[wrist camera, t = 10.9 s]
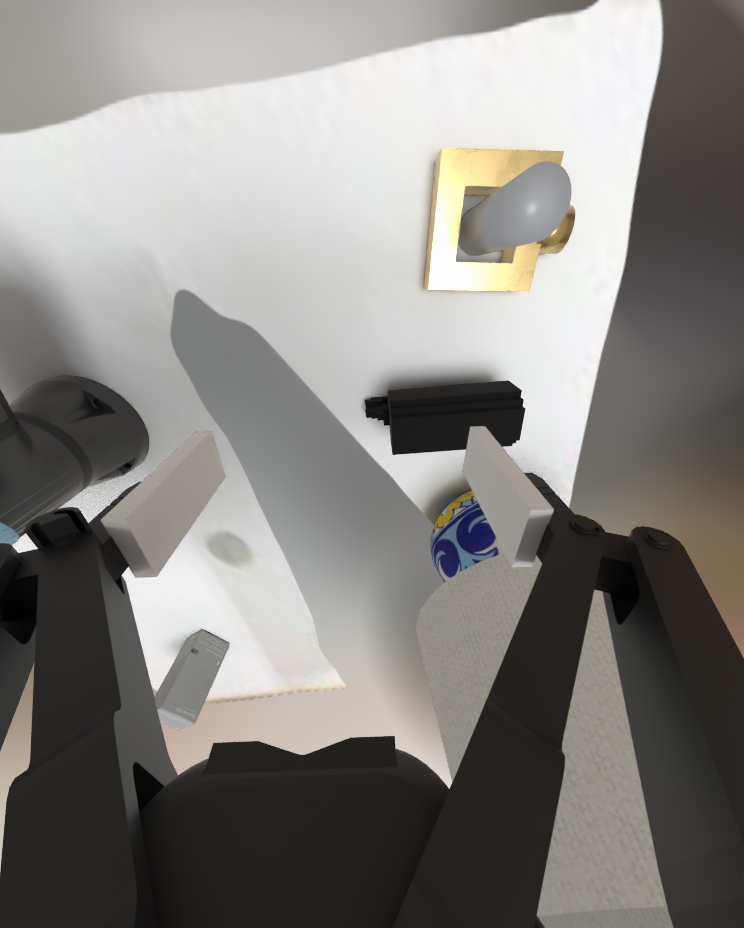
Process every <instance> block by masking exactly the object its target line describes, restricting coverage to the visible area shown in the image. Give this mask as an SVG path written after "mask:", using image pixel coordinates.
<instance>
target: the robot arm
mask: <svg viewBox="0 0 744 928" xmlns="http://www.w3.org/2000/svg"><path fill="white" fill-rule="evenodd" d="M148 447H149V440H148V435H147V431H146V428H145V426H144V424H143V422H142V420H141V419H140V417H139V416H138V414H137V413H136V412H135V410H134V409H133V408H132V407H131V406H130V405H129V404H128V403H127V402H126V401H125V400H124V399H123V398H122V397H120V396H119V395H118V394H116V393H115V392H113V391H112V390H110V389H109V388H107V387H105V386H103V385H101V384H99V383H97V382H94V381H91V380H88V379H85V378H81V377H75V376H60V377H55V378H51V379H48V380H45V381H42V382H39V383H37V384H35V385H33V386H31V387H30V388H28V389H27V390H26V391H25V392H24V393H23V394H22V395H21V396H19V397H18V398H17V399H16V400H15V401H14V402H13V403H12V404H11V405H9V404H8V402H7V401H6V399H5V397H4V395H3V393H2V392H1V390H0V750H1V748H2V745H3V742H4V739H5V737H6V734H7V732H8V729H9V727H10V724H11V721H12V719H13V716H14V713H15V711H16V708H17V706H18V703H19V701H20V698H21V695H22V692H23V690H24V687H25V685H26V682H27V680H28V677H29V674H30V672H31V669H32V666H33V664H34V661H35V664H34V688H33V711H32V732H31V756H30V764H29V768H28V769H27V771H25V772H24V773H22V774H21V775H19V776H17V777H16V778H15V779H14V781H13V782H12V784H11V786H10V788H9V792H8V797H7V802H6V814H5V825H4V838H3V849H2V861H1V872H0V928H545V927H544V925H543V924H542V922H541V921H540V919H539V918H538V917H537V911H538V905H539V900H540V895H541V890H542V885H543V880H544V874H545V869H546V864H547V859H548V854H549V849H550V843H551V838H552V833H553V828H554V823H555V818H556V812H557V807H558V802H559V797H560V792H561V787H562V781H563V776H564V769H565V755H564V753H563V751H562V743H563V737H564V732H565V728H566V723H567V718H568V713H569V708H570V704H571V699H572V694H573V689H574V685H575V680H576V675H577V670H578V666H579V661H580V656H581V651H582V647H583V642H584V637H585V632H586V627H587V623H588V618H589V613H590V608H591V604H592V599H593V594H594V590H598V591H602V592H603V597H604V602H605V607H606V612H607V617H608V622H609V627H610V632H611V637H612V642H613V647H614V652H615V657H616V662H617V667H618V672H619V677H620V682H621V687H622V692H623V697H624V702H625V707H626V711H627V716H628V721H629V726H630V731H631V736H632V741H633V746H634V751H635V756H636V761H637V766H638V771H639V776H640V781H641V786H642V791H643V796H644V801H645V806H646V811H647V816H648V821H649V826H650V831H651V836H652V841H653V846H654V851H655V856H656V861H657V866H658V870H659V875H660V879H661V883H662V887H663V891H664V895H665V899H666V903H667V907H668V912H669V915H670V918H671V921H672V925H673V928H744V658H743V656H742V655H741V652H740V651H739V649H738V647H737V645H736V643H735V641H734V639H733V638H732V636H731V634H730V632H729V630H728V628H727V626H726V624H725V623H724V621H723V619H722V617H721V615H720V613H719V611H718V610H717V608H716V606H715V604H714V602H713V600H712V598H711V597H710V595H709V593H708V591H707V589H706V587H705V586H704V584H703V582H702V580H701V578H700V576H699V574H698V573H697V571H696V569H695V567H694V565H693V563H692V561H691V559H690V558H689V556H688V554H687V552H686V550H685V548H684V547H683V545H682V544H681V543H680V542H679V541H678V540H677V539H675V538H674V537H672V536H671V535H669V534H668V533H665V532H664V531H661V530H658V529H654V528H650V527H644V526H642V527H636V528H634V529H633V530H632V532H631V533H630V535H629V537H628V536H623V535H618V534H612V533H607V532H605V530H604V529H603V528H602V527H601V525H599V524H598V523H597V522H595V521H594V520H591V519H589V518H587V517H585V516H581V515H575V514H574V513H573V512H572V511H571V510H570V509H569V508H568V507H567V505H566V504H565V503H564V502H563V501H562V500H561V499H560V498H559V497H558V495H555V492H554V491H553V490H552V489H550V487H549V486H548V484H547V483H546V482H545V481H544V480H543V479H542V478H540V477H538V476H537V475H535V474H533V473H523V472H522V470H521V469H520V468H519V467H518V466H517V464H516V463H515V462H514V461H513V459H512V458H511V457H510V456H509V455H508V453H507V452H506V451H505V450H504V449H503V447H502V446H501V445H500V444H499V443H498V441H497V440H496V439H495V438H494V437H493V435H492V434H491V433H490V432H489V431H488V429H487V428H486V427H485V426H478V427H470V431H469V436H468V442H467V448H466V454H465V459H464V465H463V471H462V472H463V474H464V476H465V478H466V480H467V482H468V484H469V486H470V488H471V490H472V491H473V493H474V495H475V497H476V499H477V501H478V503H479V505H480V507H481V509H482V511H483V513H484V515H485V517H486V518H487V520H488V522H489V524H490V526H491V528H492V530H493V532H494V534H495V536H496V538H497V540H498V542H499V544H500V545H501V547H502V549H503V551H504V553H505V555H506V557H507V559H508V561H509V563H510V565H511V567H532V566H533V563H534V560H535V558H536V555H537V557H538V558H539V560H540V561H541V563H542V566H541V568H540V570H539V573H538V575H537V578H536V580H535V583H534V585H533V588H532V590H531V592H530V595H529V597H528V600H527V602H526V605H525V607H524V609H523V612H522V614H521V617H520V619H519V622H518V624H517V627H516V629H515V631H514V634H513V636H512V639H511V641H510V644H509V646H508V648H507V651H506V653H505V656H504V658H503V661H502V663H501V666H500V668H499V670H498V673H497V675H496V678H495V680H494V683H493V685H492V687H491V690H490V692H489V695H488V697H487V700H486V702H485V704H484V707H483V709H482V712H481V714H480V717H479V719H478V721H477V724H476V726H475V729H474V731H473V734H472V736H471V738H470V741H469V743H468V746H467V748H466V751H465V753H464V756H463V758H462V760H461V763H460V765H459V768H458V770H457V773H456V775H455V777H454V780H453V782H452V785H451V787H450V789H449V788H448V787H447V785H446V784H445V783H444V782H443V781H442V780H441V779H440V777H439V776H438V775H437V774H436V773H435V772H434V771H432V769H430V768H429V767H428V766H427V765H426V764H425V763H423V762H422V761H420V760H419V759H417V758H416V757H414V756H412V755H410V754H408V753H406V752H404V751H401V750H398V749H395V737H394V736H384V737H357V738H349V739H346V740H343V741H341V742H338V743H335V744H333V745H330V746H328V747H325V748H322V749H320V750H317V751H314V752H312V753H309V754H306V755H299V754H295V753H292V752H289V751H286V750H283V749H280V748H277V747H274V746H271V745H268V744H265V743H262V742H259V741H253V742H227V743H213V746H212V749H211V753H210V756H209V759H206V760H204V761H202V762H200V763H198V764H196V765H194V766H192V767H190V768H189V769H187V770H186V771H184V772H183V773H181V774H180V775H177V773H176V771H175V768H174V767H173V764H172V762H171V760H170V758H169V755H168V752H167V748H166V744H165V740H164V736H163V732H162V727H161V723H160V719H159V715H158V711H157V707H156V703H155V699H154V695H153V691H152V687H151V683H150V679H149V675H148V671H147V667H146V663H145V658H144V654H143V650H142V646H141V642H140V638H139V634H138V630H137V626H136V622H135V618H134V614H133V610H132V606H131V602H130V598H129V594H128V590H127V586H126V582H125V580H124V579H123V577H122V574H123V573H124V571H125V570H126V569H127V568H128V566H129V568H130V570H131V571H132V573H133V575H134V576H135V578H137V577H157V576H158V574H159V573H160V571H161V570H162V568H163V567H164V565H165V564H166V563H167V561H168V560H169V558H170V557H171V555H172V554H173V552H174V551H175V549H176V548H177V547H178V545H179V544H180V542H181V541H182V539H183V538H184V536H185V535H186V533H187V532H188V531H189V529H190V528H191V526H192V525H193V523H194V522H195V520H196V519H197V517H198V516H199V515H200V513H201V512H202V510H203V509H204V507H205V506H206V504H207V503H208V501H209V500H210V499H211V497H212V496H213V494H214V493H215V491H216V490H217V488H218V487H219V486H220V484H221V483H222V481H223V480H224V478H225V473H224V470H223V467H222V464H221V460H220V457H219V454H218V450H217V447H216V444H215V440H214V437H213V434H212V431H196V432H195V433H194V434H193V435H192V436H191V437H190V438H189V439H188V440H186V441H185V442H184V443H183V444H182V445H181V446H180V447H179V448H178V449H177V450H176V451H175V452H174V453H172V454H171V455H170V456H169V457H168V458H167V459H166V460H165V461H164V462H163V463H162V464H161V465H159V466H158V467H157V468H156V469H155V470H154V471H153V472H152V473H151V474H150V475H149V476H148V477H146V478H145V479H144V480H143V481H142V482H138V483H137V484H135V485H133V486H131V487H129V488H128V489H126V490H125V491H124V492H123V493H122V494H121V495H120V496H118V499H115V500H114V501H113V502H112V503H111V504H110V506H107V507H106V508H105V509H104V510H103V511H102V512H101V513H99V514H98V515H97V516H96V517H95V518H94V519H93V520H92V521H91V522H89V523H88V522H87V521H86V519H85V518H84V516H83V514H82V513H81V511H80V510H79V509H78V508H74V507H67V508H61V509H58V508H60V507H61V506H62V505H64V504H65V503H67V502H68V501H69V500H71V499H72V498H73V497H75V496H76V495H77V494H78V493H80V492H81V491H83V490H84V489H85V488H87V487H89V486H92V485H95V484H98V483H102V482H105V481H108V480H111V479H114V478H117V477H120V476H123V475H125V474H127V473H128V472H130V471H131V470H133V469H134V468H135V467H136V466H138V465H139V464H140V463H141V462H142V461H143V460H144V459H145V457H146V455H147V452H148ZM25 533H26V534H27V535H28V536H29V538H30V539H31V540H32V541H33V543H34V544H35V545H36V546H37V548H38V549H36V550H31V551H27V552H22V553H18V552H17V551H16V550H15V549H14V548H13V546H11V545H12V544H14V543H16V542H17V541H18V539H19V538H20V537H21V536H22V535H24V534H25Z"/></svg>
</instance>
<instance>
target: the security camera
mask: <svg viewBox="0 0 744 928" xmlns="http://www.w3.org/2000/svg"><path fill="white" fill-rule="evenodd" d="M521 392H522V390H520V389H519V388H518V387H516V386H515V385H514V384H512V383H511V382H509V381H498V382H486V383H474V384H462V385H449V386H437V387H425V388H413V389H401V390H389V391H388V398H387V396H386V397H374V398H371V400H365V405H366V417H367V418H370V417H372V419H374V418H378V420H384V425H390V435H391V446H392V454H393V455H396V454H409V453H423V452H436V451H450V450H463V449H466V448H467V442H468V436H469V431H470V427H478V426H485V427H486V428H487V429H488V431H489V432H490V433H491V434H492V435H493V437H494V438H495V439H496V440H497V441H498V443H499V444H500V445H501V446H502V447H503V446H512V444H513V443H516V440H520V435H521V429H522V424H523V418H524V413H525V408H524V407H523V399H522V398H521Z"/></svg>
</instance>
